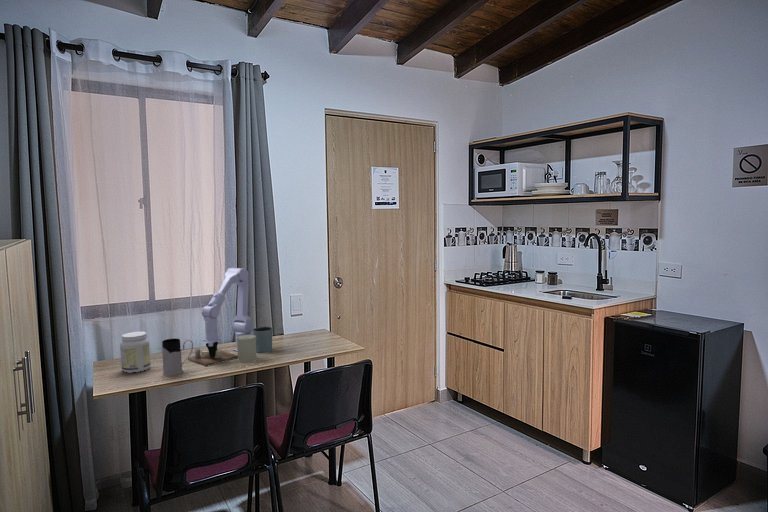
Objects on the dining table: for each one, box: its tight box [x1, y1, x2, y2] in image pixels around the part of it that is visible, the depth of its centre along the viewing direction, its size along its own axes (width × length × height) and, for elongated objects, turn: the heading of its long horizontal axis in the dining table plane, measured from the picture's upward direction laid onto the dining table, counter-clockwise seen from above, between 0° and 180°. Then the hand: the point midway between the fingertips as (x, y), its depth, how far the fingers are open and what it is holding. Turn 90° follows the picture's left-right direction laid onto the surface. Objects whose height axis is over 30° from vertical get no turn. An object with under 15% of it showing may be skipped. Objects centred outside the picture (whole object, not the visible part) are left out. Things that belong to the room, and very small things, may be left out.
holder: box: [161, 338, 194, 377], centre depth 226 cm, size 9×14×15 cm, turn 134°
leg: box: [200, 350, 223, 358], centre depth 243 cm, size 10×2×3 cm, turn 83°
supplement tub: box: [119, 331, 152, 374], centre depth 230 cm, size 12×12×17 cm
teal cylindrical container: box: [252, 326, 274, 354], centre depth 257 cm, size 10×10×12 cm
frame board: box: [187, 347, 238, 367], centre depth 245 cm, size 18×17×5 cm
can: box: [237, 335, 258, 363], centre depth 242 cm, size 9×9×12 cm
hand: (212, 357), depth 241 cm, fingers closed, pressing on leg
